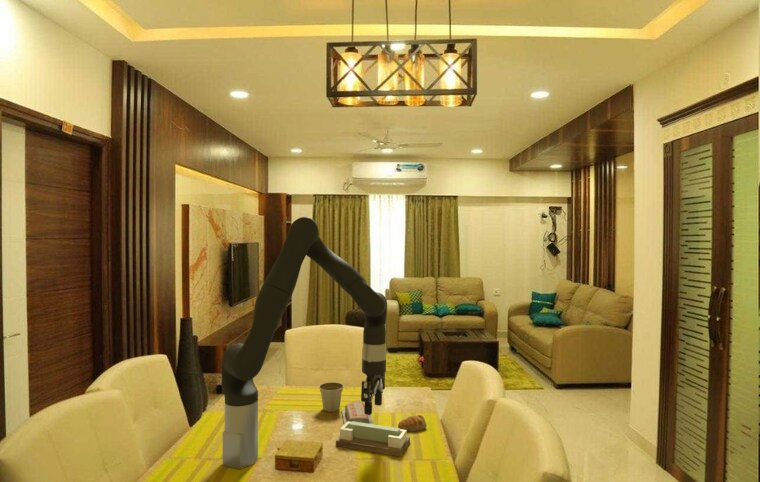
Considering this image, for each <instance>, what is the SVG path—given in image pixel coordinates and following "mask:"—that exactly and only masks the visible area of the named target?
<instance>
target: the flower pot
mask: <svg viewBox="0 0 760 482" xmlns="http://www.w3.org/2000/svg"><path fill="white" fill-rule="evenodd" d="M344 387H345V385H344V383H341V382H337V381H331V382H330V381H329V382H324V383H321V384H319V385H318V389H319V391H320V395H321V402H322V408H323V409H322V410H324V411H325V412H326V411H327V412H329V413H330V412H332V413H333V412H337V411H338V410H340V409H341V400H342V392H343V389H344Z"/></svg>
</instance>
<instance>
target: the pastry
mask: <svg viewBox="0 0 760 482" xmlns="http://www.w3.org/2000/svg"><path fill="white" fill-rule="evenodd" d="M397 428H400V429H403V430H407V432H415V431H416V430H417V431H421V430H422V429H423V430H425V429H426V428H427V422H426V420H425V417H424V416H423V415H422V414H417V415H410V416H407V418H404V419H402V420H400V421H399V422H398V425H397ZM417 431H416V432H417Z"/></svg>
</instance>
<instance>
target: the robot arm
mask: <svg viewBox="0 0 760 482" xmlns="http://www.w3.org/2000/svg"><path fill="white" fill-rule="evenodd" d="M319 232H320V231H319V226H318V224H317V222H316V221H315V220H314V219H313V218H311V217H308V216H301V217H298V218H297V219H295V220H294V221H293V222H292V223H291V224H290V227H289V228H288V232H287V235H286V238H285V240H284V242H283V246H282V249H281V251H280V253H279V255H278V256H277V259H276V260H275V261H274V263H273V266H272V267H271V269H270V270H269V273H268V274H267V276H266V278H265V279H264V282H263V284H262V286H261V287H260V290H259V292H258V293H257V295H256V300H255V301H254V302H255V303H254V309H253V319H252V325H251V328H250V331H249V333H248V335H247V337H246V339H245V341H244V342H243V343H234V344H231V345H230V346H228V347H227V348H226V349H225V350H224V352H223V355H222V359H221V370H220V371H221V388H222V393H223V396H224V431H223V432H222V466H224V467H228V468H232V469H237V470H241V469H243V468H245V467H248V466H251V465H253V464H255V463H256V462H258V460H259V390H258V388H257V386H256V385H255V382H254V378H255V377H257V375H258V374H260V372H261V370H262V368H263V366H264V364H265V360H266V357H267V354H268V352H269V348H270V346H271V343H272V340H273V337H274V336H275V335H274V334H275V333H276V331H277V328H278V327H279V324H280V322H281V319H282V318H283V316H284V313H285V311H286V309H287V308H288V305H289V303H290V301H291V298H292V297H293V294H294V292H295V288H296V286H297V283H298V278H299V275H300V271H301V267H302V265H303V262H304V260H305V258H306V257H308V258H309V259H311V260H312V261H314V262H315V263H316V264H317V266H319V267H320V268H322V270H323V271H325V272H326V273H327V274H328V275H329V277H331V279H333V281H335V283H336V284H338V285H339V286H340V288H341V289H343V291H345V293H346V294H348V295H349V296H350V298H352V300H353V301H354V303H356V305H357V306H358V307H359V308H360V310H361V311H362V312H363V313H364V314H365V324H364V327H363V333H362V334H363V335H362V337H363V339H362V349H361V372H362V374H364V375H366V378H365V380H362V381H361V389H360V390H361V393H360V394H361V395H360V401H361V402H363V403H364V413H365V414H367V415H371V416H372V414H373V399H374V405H375V406H382V404H383V403H382V401H383V393H384V390H385V389H386V373H387V346H386V345H387V344H386V343H387V342H386V340H387V339H386V337H387V336H386V334H387V330H386V329H387V328H386V325H387V312H388V301H387V298H386V296H384V294H382V293H381V292H377V291H375V290H374V289H373V288H372V287H371V286H370V285H369V284H368V282H367V280H366V279H365V278H364V276H362V274H361V273H360V272H359V271H357V269H355V268H354V267H353V266H352V265H351V264H350V263H349V262H347V261H346V260H345V259H343V258H342V257H340V256H339V255H338V254H336V253H335V252H333V251H332V250H331V249H330V248H329V247H328V246H327V245H326V243H325V242H324V241H323V240H322V239H321V237H320V235H319V234H320V233H319Z"/></svg>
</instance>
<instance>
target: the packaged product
mask: <svg viewBox="0 0 760 482" xmlns="http://www.w3.org/2000/svg"><path fill="white" fill-rule="evenodd" d="M364 406H365V402H362V401H361V400H356V401H353V402H349V403H346V405H345V407H344V408H345V409H341V415H342V419H343V425H344V424H346V423H347V422H348V421H350V422H352V421H354V422H361V423H367V424H374V425H375V423H374V421H373V418H372V414H371V415H367V414H365V413H364Z"/></svg>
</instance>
